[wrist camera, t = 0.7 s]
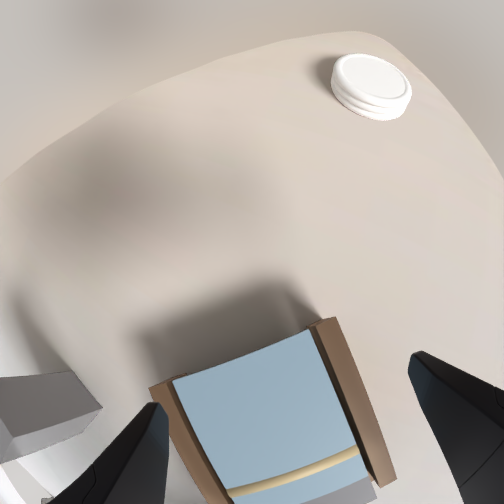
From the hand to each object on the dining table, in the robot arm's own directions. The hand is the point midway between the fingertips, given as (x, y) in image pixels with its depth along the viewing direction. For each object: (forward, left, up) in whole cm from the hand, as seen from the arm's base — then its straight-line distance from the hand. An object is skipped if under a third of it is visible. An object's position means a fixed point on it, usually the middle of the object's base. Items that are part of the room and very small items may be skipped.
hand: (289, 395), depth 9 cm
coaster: (+22, -23, -15) cm, 35 cm away
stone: (+1, +21, -15) cm, 26 cm away
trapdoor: (-7, +2, -12) cm, 14 cm away
